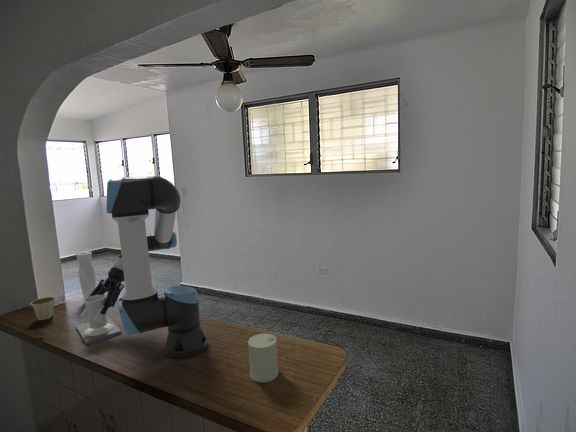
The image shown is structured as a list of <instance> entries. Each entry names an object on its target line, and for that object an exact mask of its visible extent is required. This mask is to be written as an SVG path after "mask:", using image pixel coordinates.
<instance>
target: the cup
mask: <svg viewBox="0 0 576 432" xmlns="http://www.w3.org/2000/svg"><path fill="white" fill-rule="evenodd" d="M106 297H107V295H106V294H104V295H95V296H91V297H88V298H86V299H85V300H83V302H84V308H86V311H87V315H88V317H87V319H88V322H89V324H90V328H91V329H98V328H102V327H104V326H106V325H107V317H108V316H107V312H106V313H105V314H104V316H103V317H102V319H101V320H100V322H99V323H98V322H96V321H94V320H93V319H94V317H95V316H96V314H97V312H98V311H99V309H100V308H101V306H102V305H103V303H105V300H106ZM104 306H105V305H104Z"/></svg>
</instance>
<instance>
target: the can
mask: <svg viewBox="0 0 576 432" xmlns="http://www.w3.org/2000/svg"><path fill="white" fill-rule="evenodd" d="M277 341H278V339H277V337H276V336H275V335H273V334H271V333H258V334H255V335H253V336H251V337H250V338H249V339H248V342H247V344H248V356H249V377H250V379H251V380H253V381H254V382H257V383H268V382H272V381H273V380H275V379H276V378H277V377H278V376H279V372H280V371H279V366H278V349H277V347H278V345H277V344H278V343H277Z"/></svg>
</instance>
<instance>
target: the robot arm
mask: <svg viewBox="0 0 576 432" xmlns="http://www.w3.org/2000/svg"><path fill="white" fill-rule="evenodd" d="M106 185H107V186H106V213H107V214H109V215H110V214H111V219H112V220H113V221H115V222H117V226H118V227H117V228H118V234H119V235H118V237H119V245H120V254H119V256H118V257H117V258H116V260H115V261H114V263H113V264H112V267H111V268H110V269H109V271H108V273H107V276H108V277H107V278H106V279H103V278H102V279H100V281H99V283H98V284H97V286H96V288H95V289H94V291H93V292H92V293H91V294H90V296H89V297H91V296H95V295H106V293H107V295H106V300H105V303H103V305H102V306H101V308H100V309H99V311H98V312H97V314H96V316H95V317H94V319H93V320H94V321H96V322H98V323H99V322H100V320H101V319H102V317H103V316H104V314H105V313H106V314H107V312H108V310H109V309H110V308H111V307H112V308H114V307H115V305H116V304H117V301H118V299H119V296H120V295H121V292H122V291H123V290H124V287H125V292H124V293H123V295H122V296H121V301H120V302H118V304H117V309H118V312H119V315H120V320H121V324H122V327H123V330H124V332H125V334H126V335H128V336H132V335H137V334H139V335H141V334H143V333H146V332H150V331H156V330H159V329H163V328H166V327H167V328H168V329H167V336H166V339H165V342H164V352H165V355H166V356H168V357H170V358H173V359H186V358H187V359H188V358H190V357H193V356H196V355H198V354H200V353H202V352H203V351H204V350H205V349H206V348H207V345H208V340H207V336H206V334H205V332H204V329H203V327H202V325H201V315H200V314H201V313H200V305H199V304H200V300H199V296H198V291H197V289H196V288H194V287H191V286H187V285H173V286H169V287H167V288H165V289H164V290H163V293H161V294H159V292H158V289H156V288H155V287H153V281H152V271H151V264H150V263H151V262H150V254H149V252H153V251H161V250H169V249H174V248H176V247H177V244H178V243H177V242H178V241H177V235H176V232H174V227H175V220H176V214H177V211H179V208H180V206H181V201H182V200H181V195H180V192H179V191H178V189H177V187H176V186H175V185H174V184H173V183H172V182H171V181H170V180H169V179H166V178H164V177H162V176H156V175H149V176H125V177H124V176H121V177H115V178H110V179H109V180H108V181H107V184H106ZM150 210H155V213H154V214H155V215H154V216H155V217H154V230H153V231H154V232H153V233H150V234H149V233H147V228H146V219H147V218H148V217H149V216H150V215H149V214H150V213H149V211H150ZM123 283H124V284H123ZM104 305H105V306H104ZM80 317H81V318H83V319H85V320H87V319H88V315H87V311H86V307H84V310H83V312H82V313H81V314H80Z"/></svg>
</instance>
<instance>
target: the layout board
mask: <svg viewBox="0 0 576 432" xmlns="http://www.w3.org/2000/svg"><path fill="white" fill-rule="evenodd" d="M75 328H76V331H77V332H78V334H79V336H80V337H81V338H82V340H83V342H84V344H85V345H86V346H87V345H91V344H93V343H94V344H95V343H96V342H100V341H102V340H105V339H108V338H111V337H115V336H118V335H121V334H122V330H121V328H119V327H118V325H117V324H116V323H115V322H114V321H113V320H112V319H111V318H110V316H109V315H108V316H107V325H106V326H104V327H102V328H98V329H91V328H90V324H89V321H88V322H85V323H81V324H78V325H75Z"/></svg>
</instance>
